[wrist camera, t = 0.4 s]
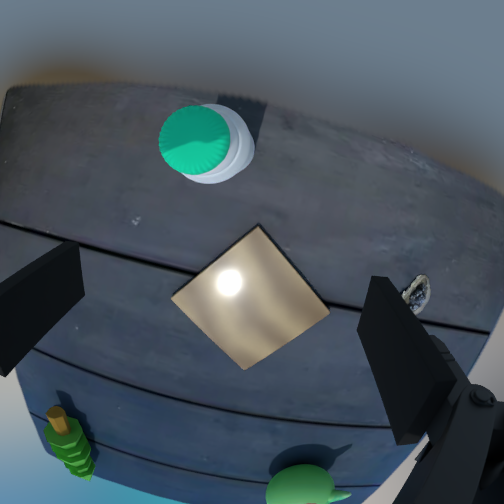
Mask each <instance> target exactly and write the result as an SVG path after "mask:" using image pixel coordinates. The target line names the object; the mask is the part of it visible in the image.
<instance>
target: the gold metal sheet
mask: <svg viewBox="0 0 504 504" xmlns="http://www.w3.org/2000/svg"><path fill="white" fill-rule="evenodd" d="M171 300H172V301H173V302H174V303H175V304H176V305H177V306H178V307H179V308H180V309H181V310H182V311H183V312H184V313H185V314H186V315H187V316H188V317H189V318H190V319H191V320H192V321H193V322H194V323H195V324H196V325H197V326H198V327H199V328H200V329H201V330H202V331H203V332H204V333H205V334H206V335H207V336H208V337H209V338H210V339H211V340H212V341H214V342H215V343H216V344H217V345H218V346H219V347H220V348H221V349H222V350H223V351H224V352H225V353H226V354H227V355H228V356H229V357H230V358H232V359H233V360H234V361H235V362H236V363H237V364H238V365H239V366H240V367H241V368H242V369H244V370H246V369H248V368H249V367H251V366H252V365H254V364H256V363H257V362H259V361H260V360H262V359H263V358H265V357H267V356H268V355H270V354H271V353H273V352H274V351H276V350H277V349H279V348H280V347H282V346H283V345H285V344H286V343H288V342H289V341H291V340H292V339H294V338H295V337H297V336H298V335H300V334H301V333H303V332H304V331H306V330H307V329H308V328H310V327H311V326H313V325H314V324H316V323H317V322H318V321H320V320H321V319H323V318H324V317H325V316H327V315H328V314H330V310H329V309H328V308H327V306H326V305H325V304H324V303H323V302H322V300H321V299H320V298H319V297H318V296H317V294H316V293H315V292H314V291H313V289H312V288H311V287H310V286H309V285H308V283H307V282H306V281H305V280H304V279H303V277H302V276H301V275H300V274H299V273H298V271H297V270H296V269H295V268H294V267H293V266H292V264H291V263H290V262H289V261H288V260H287V258H286V257H285V256H284V255H283V254H282V252H281V251H280V250H279V249H278V248H277V247H276V245H275V244H274V243H273V242H272V241H271V239H270V238H269V237H268V236H267V235H266V234H265V232H264V231H263V230H262V229H261V228H260V226H259V225H258V226H256V227H255V228H254V229H253V230H251V231H250V232H249V233H248V234H247V235H245V236H244V237H243V238H242V239H240V240H239V241H238V242H237V243H235V244H234V245H233V246H232V247H231V248H229V249H228V250H227V251H226V252H225V253H223V254H222V255H221V256H220V257H218V258H217V259H216V260H215V261H214V262H212V263H211V264H210V265H209V266H207V267H206V268H205V269H204V270H203V271H201V272H200V273H199V274H198V275H197V276H195V277H194V278H193V279H192V280H191V281H189V282H188V283H187V284H186V285H185V286H183V287H182V288H181V289H180V290H179V291H177V292H176V293H175V294H174V295H173V296H172V297H171Z"/></svg>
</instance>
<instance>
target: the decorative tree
mask: <svg viewBox="0 0 504 504" xmlns="http://www.w3.org/2000/svg"><path fill="white" fill-rule="evenodd" d="M46 415H47V417H48V419H49V421H50V422H49V423H48V424H47V426H46V427H45V429H44V430H43V431H44V434H45V437H46V439H47V442H49V443H50V445H51V448H52V450H53V452H55V453H56V456H57V458H58V459H60V460H62V461H63V462H64V464H65V466H66V468H68V469H69V470H70V472H71V474H73V475H75V476H78V477H80V478H83V479H85V480H88V481H90V480H91V477H92V474H93V472H94V469H95V464H94V462H93V460H92V458H91V456H90V454H89V453H90V451H91V447H90V445H89V443H88V441H87V439H86V437H85V435H84V433H83V430H82V428H81V426H80V424H79V422H78V420H77V419H74V418H71V417H67V416H66V413H65V411H64V410H63V409H62V408H61V407H58V406H54V407H51V408H50V409H49V410H48V411H47V412H46Z"/></svg>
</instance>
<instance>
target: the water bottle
mask: <svg viewBox="0 0 504 504" xmlns="http://www.w3.org/2000/svg"><path fill="white" fill-rule="evenodd" d="M159 147H160V152H161V153H162V156H163V157H164V159H165V161H166V162H167V163H168V164H169V166H171V167H172V168H173V169H175V170H177V171H178V172H181V173H182V174H183V175H185V176H186V177H187V178H189V179H191V180H193V181H196V182H199V183H206V184H212V183H219V182H222V181H225V180H227V179H229V178H231V177H232V176H234V175H235V174H237V173H238V172H239V171H241V170H243V169H244V168H246V167H247V166H248V165H249V163H250V162H251V160H252V158H253V156H254V151H255V145H254V141H253V138H252V136H251V134H250V132H249V130H248V128H247V125H246V124H245V122H244V120H243V119H242V118H241V117H240V116H239V115H238V114H237V113H236V112H235V111H233V110H231V109H230V108H228V107H225V106H222V105H217V104H205V105H200V106H197V105H194V106H192V105H189V106H187V107H183V108H182V109H179V110H177V111H176V112H174V113H172V115H171V116H169V117H168V119H167V120H166V121H165V122H164V125H163V127H162V130H161V132H160V137H159Z"/></svg>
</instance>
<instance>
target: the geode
mask: <svg viewBox="0 0 504 504" xmlns="http://www.w3.org/2000/svg"><path fill="white" fill-rule="evenodd" d="M429 286H430V285H429V278H428V277H427V276H425V275H419V276H417V279H415V281H413V282H412V284H411V287H410V288H409V287H408V290H406V292H405V291H404V292H403V294H402V295H401V296H402V297H403V299H404V300H405V301H406V303H407V304H408V306H409V307H410V308H411V310H412V311H413V313H414V314H415V315H417V314H418V313H420V311H422V310H423V308H424V307H425V304H427V303H428V301H429V298H430V296H431V293H430V291H431V289H430V288H429Z"/></svg>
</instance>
